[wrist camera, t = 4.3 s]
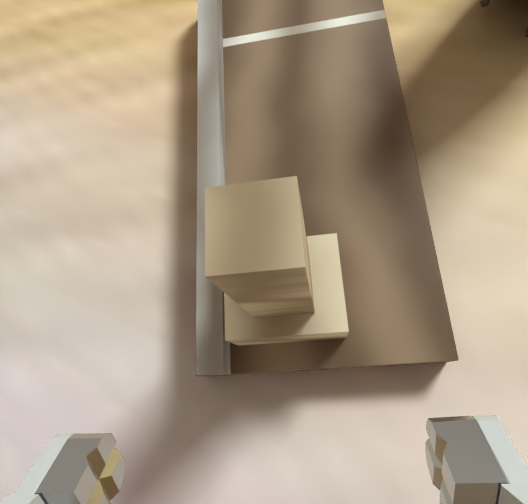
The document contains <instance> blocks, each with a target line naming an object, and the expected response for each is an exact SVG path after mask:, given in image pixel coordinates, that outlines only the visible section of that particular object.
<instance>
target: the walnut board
mask: <svg viewBox="0 0 528 504" xmlns="http://www.w3.org/2000/svg"><path fill="white" fill-rule="evenodd" d="M292 176H297V180H298V186H299V193H300V199H301V205H302V212H303V218H304V224H305V231H306V236H314V235H323V234H333V233H337V240H338V248H339V256H340V264H341V272H342V280H343V288H344V296H345V304H346V312H347V320H348V329H349V332H348V335H347V337H346V338H340V339H326V340H312V341H298V342H283V343H269V344H255V345H241V346H238V345H236V344H233V343H231V342H228V341H225V307H224V292H223V291H222V290H221V289H219V288H218V287H217V286H216V285H215V284H213V283H212V282H211V281H210V280H209V279H207V278H206V277H205V188H206V187H214V186H222V185H229V184H237V183H245V182H253V181H261V180H268V179H276V178H284V177H292ZM457 360H458V355H457V350H456V345H455V341H454V336H453V331H452V327H451V322H450V317H449V312H448V308H447V303H446V298H445V294H444V289H443V284H442V279H441V275H440V270H439V265H438V260H437V256H436V251H435V246H434V242H433V237H432V232H431V227H430V223H429V218H428V213H427V209H426V204H425V199H424V194H423V190H422V185H421V180H420V175H419V171H418V166H417V161H416V157H415V152H414V147H413V142H412V138H411V133H410V128H409V123H408V119H407V114H406V109H405V105H404V100H403V95H402V90H401V86H400V81H399V76H398V72H397V67H396V62H395V57H394V53H393V48H392V43H391V38H390V34H389V29H388V24H387V20H386V15H385V10H384V5H383V1H382V0H198V66H197V252H196V376H222V375H238V374H255V373H272V372H288V371H305V370H322V369H338V368H355V367H372V366H388V365H405V364H422V363H439V362H450V361H457Z"/></svg>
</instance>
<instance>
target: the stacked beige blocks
mask: <svg viewBox="0 0 528 504" xmlns="http://www.w3.org/2000/svg"><path fill="white" fill-rule="evenodd" d="M205 277H206V278H207V279H209V280H210V281H211V282H212V283H213V284H215V285H216V286H217V287H218V288H219V289H221V290H222V291H223V292H224V307H225V341H228V342H231V343H233V344H236V345H238V346H241V345H255V344H269V343H283V342H298V341H312V340H326V339H340V338H346V337H347V335H348V332H349V329H348V320H347V312H346V304H345V296H344V288H343V280H342V272H341V264H340V256H339V248H338V240H337V233H333V234H323V235H314V236H306V231H305V224H304V218H303V212H302V205H301V199H300V193H299V186H298V180H297V176H292V177H284V178H276V179H268V180H261V181H253V182H245V183H237V184H229V185H222V186H214V187H206V188H205Z"/></svg>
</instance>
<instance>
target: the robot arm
mask: <svg viewBox="0 0 528 504" xmlns="http://www.w3.org/2000/svg"><path fill="white" fill-rule="evenodd" d="M426 430H427V433H428V436H429V439H428V440H427V441H426V458H427V465H428V469H429V473H430V476H431V479H432V482H433V485H434V486H436V487H437V488H438V489H439V490H440V504H528V467H527V466H526V464H525V462H524V460H523V459H522V457H521V455H520V453H519V452H518V450H517V448H516V447H515V445H514V443H513V441H512V440H511V438H510V436H509V435H508V433H507V431H506V429H505V428H504V426H503V424H502V422H501V421H500V419H499V418H498V417H497V416H495V415H488V416H472V417H471V416H459V417H442V418H428V420H427V424H426ZM115 443H116V440H115V438H114V436H113V435H112V433H96V434H57V435H55V436H54V437H53V438H52V439H50V441H49V442H48V444H47V445H46V447H45V448H44V450H43V451H42V453H41V454H40V456H39V458H38V459H37V461H36V462H35V464H34V465H33V467H32V468H31V470H30V471H29V473H28V474H27V476H26V477H25V479H24V480H23V482H22V483H21V485H20V486H19V488H18V490H17V491H16V493H15V494H14V495H8V496H7V497H5V498H4V499H3V500H2V501H0V504H111V502H110V500H111V499H112V498H113V497H114V496H115V495H116V494H117V493H118V492H119V491H120V488H121V486H122V483H123V481H124V475H125V468H126V467H125V460H124V457H123V455H122V453H121V452H120V451H118V450H117V449H115V448H114V446H115Z"/></svg>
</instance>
